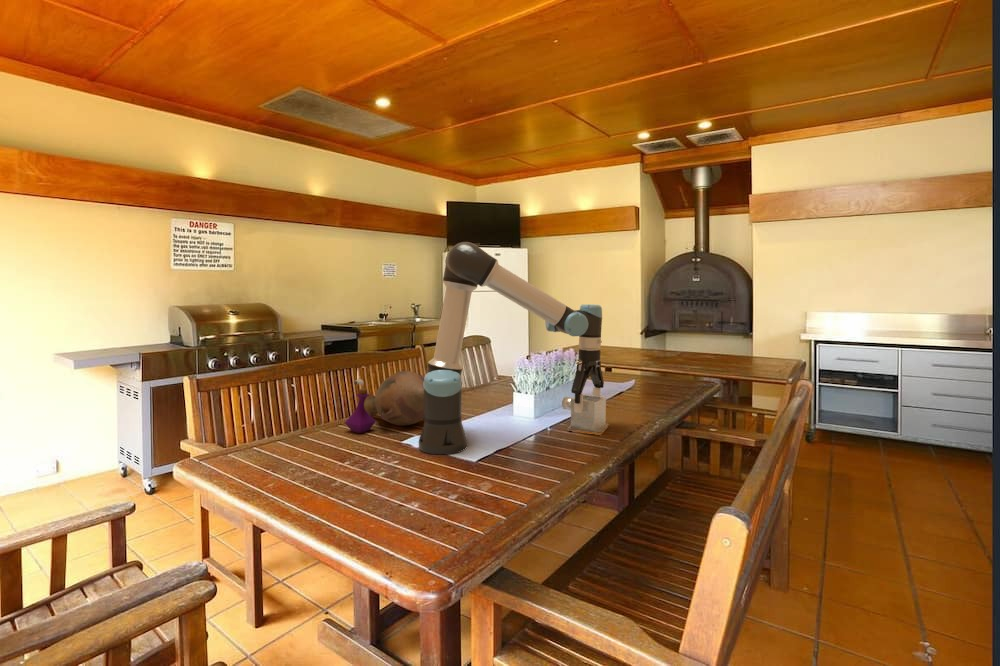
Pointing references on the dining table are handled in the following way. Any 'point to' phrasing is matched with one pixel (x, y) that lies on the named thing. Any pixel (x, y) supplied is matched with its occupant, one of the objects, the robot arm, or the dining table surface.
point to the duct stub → (589, 430)
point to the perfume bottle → (360, 413)
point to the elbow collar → (587, 412)
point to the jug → (398, 399)
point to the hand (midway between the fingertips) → (587, 409)
